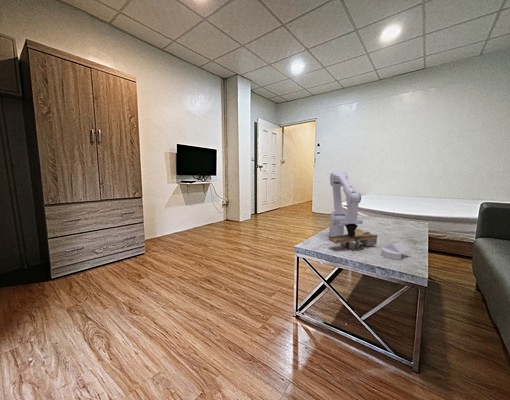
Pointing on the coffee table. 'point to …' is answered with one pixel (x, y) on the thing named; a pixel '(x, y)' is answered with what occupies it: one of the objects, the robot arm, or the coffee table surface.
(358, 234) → the rider
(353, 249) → the grey metal bracket
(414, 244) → the coffee table surface
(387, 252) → the wedge on round base
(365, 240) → the beam
